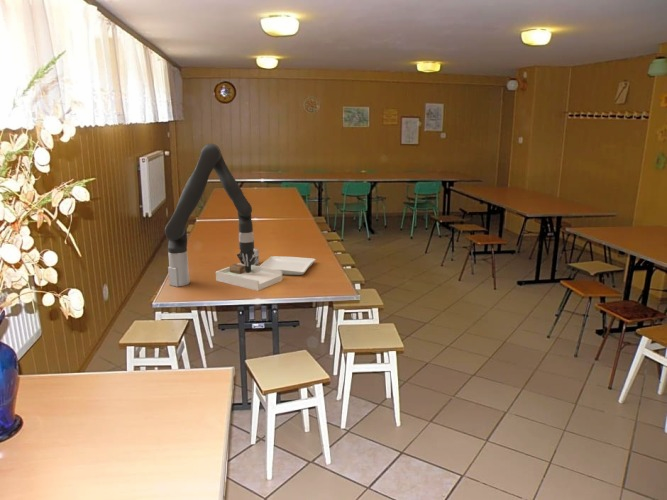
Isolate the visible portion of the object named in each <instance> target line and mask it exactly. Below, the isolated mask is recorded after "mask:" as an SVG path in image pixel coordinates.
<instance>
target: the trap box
mask: <svg viewBox="0 0 667 500" xmlns="http://www.w3.org/2000/svg"><path fill="white" fill-rule="evenodd" d="M238 264H239V265H244V264H242V263H241V262H239V263H238ZM244 266H245V265H244ZM283 279H284V278H283V274H282V271H279V270H274V269H269V268H264V267H260V265H251V272H250V273H246V272H245V273H242V274H236V273H231V272H230V266H228V267H225V268H222V269H219V270H216V271H215V281H216V282H220V283H225V284H228V285H233V286H236V287H241V288H245V289H250V290H253V291H257V292H259V291H261V290H264V289H265V288H268V287H270V286H273V285H275V284H277V283H280V282H282V281H283Z"/></svg>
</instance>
